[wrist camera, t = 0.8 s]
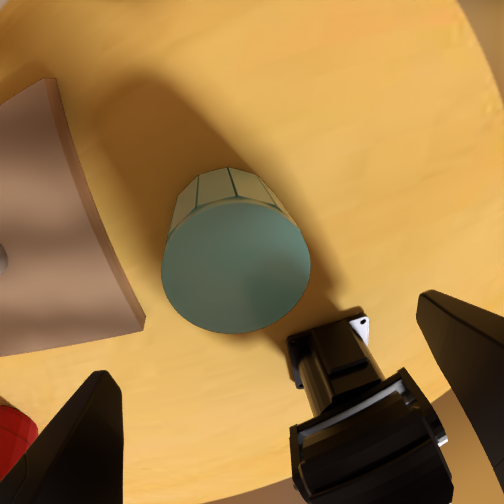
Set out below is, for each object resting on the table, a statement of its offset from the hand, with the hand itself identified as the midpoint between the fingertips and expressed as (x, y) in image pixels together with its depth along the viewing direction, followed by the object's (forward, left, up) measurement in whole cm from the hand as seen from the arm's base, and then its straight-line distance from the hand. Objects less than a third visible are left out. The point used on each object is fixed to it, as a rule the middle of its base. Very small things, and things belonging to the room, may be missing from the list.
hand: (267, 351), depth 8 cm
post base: (+2, +15, -11) cm, 19 cm away
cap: (-1, 0, -11) cm, 11 cm away
